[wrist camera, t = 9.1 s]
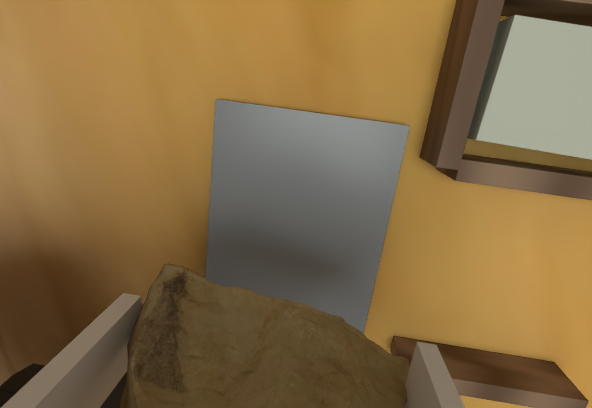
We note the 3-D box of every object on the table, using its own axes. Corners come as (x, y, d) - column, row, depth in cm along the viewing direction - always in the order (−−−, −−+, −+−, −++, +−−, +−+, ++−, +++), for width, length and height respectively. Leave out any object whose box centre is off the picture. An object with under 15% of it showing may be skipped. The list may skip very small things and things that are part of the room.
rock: (44, 338, 13) (186, 544, 14) (-111, 440, 5) (232, 904, 6) (269, 198, 18) (369, 359, 18) (362, 144, 10) (531, 426, 10)
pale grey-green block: (443, 132, 22) (468, 138, 18) (472, 30, 20) (506, 13, 16) (608, 160, 22) (668, 172, 18) (651, 59, 20) (729, 48, 16)
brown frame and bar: (374, 346, 27) (381, 381, 23) (460, -15, 19) (488, -39, 16) (565, 377, 26) (600, 418, 23) (725, 17, 19) (811, -1, 15)
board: (205, 332, 27) (201, 341, 27) (220, 99, 22) (215, 99, 21) (355, 357, 27) (356, 367, 26) (406, 124, 22) (409, 125, 21)
